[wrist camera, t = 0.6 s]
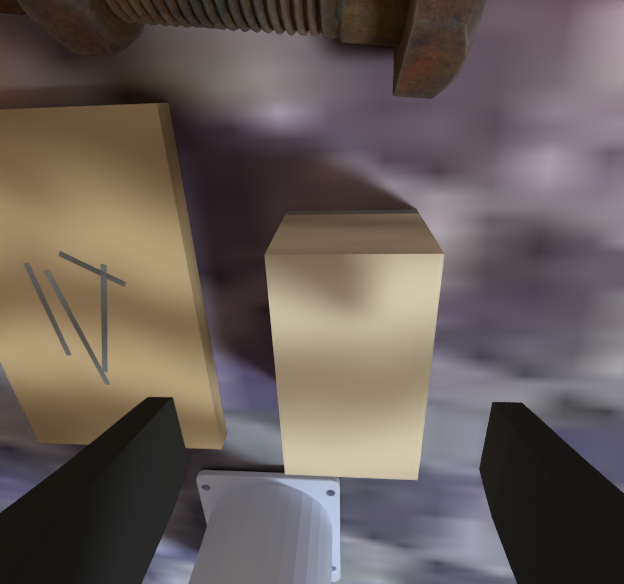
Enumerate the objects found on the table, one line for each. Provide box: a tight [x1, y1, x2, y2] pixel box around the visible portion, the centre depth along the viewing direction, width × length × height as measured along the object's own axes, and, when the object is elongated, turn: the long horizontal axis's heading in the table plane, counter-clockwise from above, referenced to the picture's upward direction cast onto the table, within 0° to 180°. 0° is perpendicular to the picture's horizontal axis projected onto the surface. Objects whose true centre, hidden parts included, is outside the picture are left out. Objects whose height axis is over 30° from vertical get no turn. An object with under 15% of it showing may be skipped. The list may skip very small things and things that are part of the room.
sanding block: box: [265, 209, 444, 480], centre depth 15 cm, size 9×5×5 cm, turn 2°
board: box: [0, 103, 227, 449], centre depth 18 cm, size 16×10×1 cm, turn 2°
